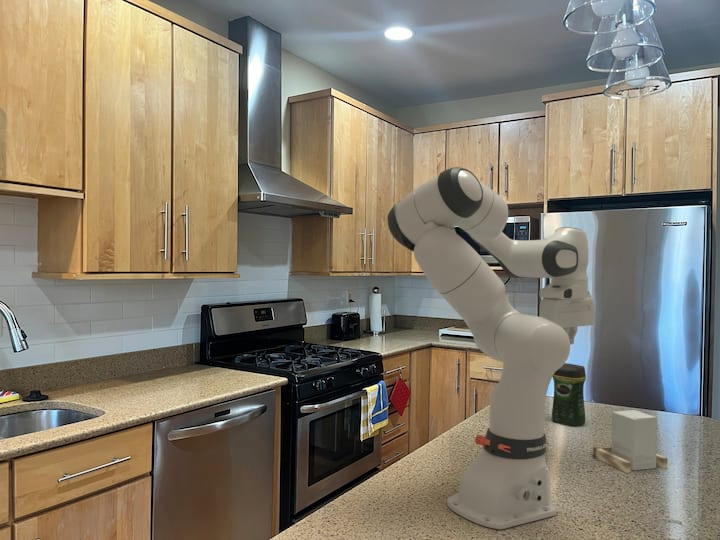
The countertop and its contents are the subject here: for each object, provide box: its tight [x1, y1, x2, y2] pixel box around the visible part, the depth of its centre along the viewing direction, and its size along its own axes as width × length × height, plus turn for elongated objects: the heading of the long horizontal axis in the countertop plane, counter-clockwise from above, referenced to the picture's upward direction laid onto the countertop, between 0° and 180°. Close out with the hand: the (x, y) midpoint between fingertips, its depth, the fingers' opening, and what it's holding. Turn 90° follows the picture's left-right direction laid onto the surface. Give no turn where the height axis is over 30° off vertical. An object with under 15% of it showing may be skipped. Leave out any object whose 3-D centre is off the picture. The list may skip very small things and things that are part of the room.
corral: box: [592, 444, 668, 474], centre depth 135 cm, size 11×12×2 cm
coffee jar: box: [551, 362, 587, 427], centre depth 169 cm, size 10×8×19 cm
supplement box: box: [611, 409, 658, 471], centre depth 134 cm, size 7×7×13 cm
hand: (567, 344), depth 138 cm, fingers closed
